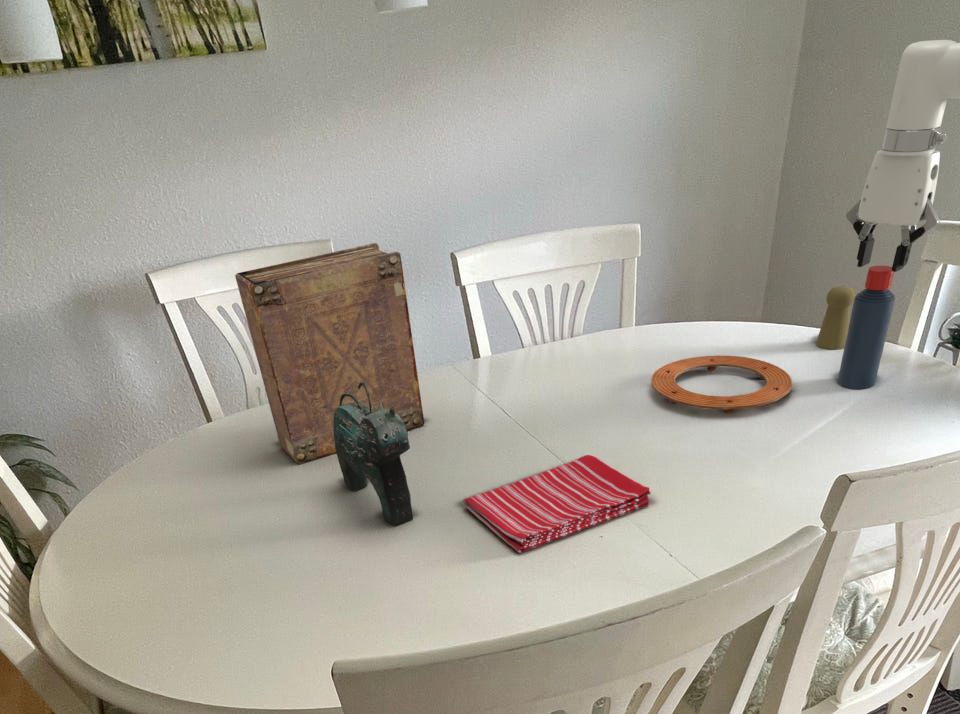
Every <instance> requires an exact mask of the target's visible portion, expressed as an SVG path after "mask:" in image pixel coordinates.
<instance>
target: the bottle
mask: <svg viewBox="0 0 960 714" xmlns="http://www.w3.org/2000/svg"><path fill="white" fill-rule="evenodd" d="M895 301H896V297H895V294H894V293H893V292H892V291H891V290H890V289H887V290H880V291H878V290H869V289H866V288H864V289H863V290H861V291H860V292H858V293H857V294H855V299H854V302H853V303H852V309H851V312H850V317H849V328H848V332H847V337H846V342H845V347H844V348H843V352H842V357H841V362H840V366H839V371H838V376H837V380H836V382H837V384H838V385H839V386H841V387H843V388H845V389H849V390H866V389H870V388H872V387H874V386H875V385H876V381H877V377H878V373H879V369H880V365H881V360H882V355H883V351H884V347H885V343H886V338H887V335H888V331H889V326H890V322H891V318H892V314H893V311H894V310H893V309H894V306H895Z"/></svg>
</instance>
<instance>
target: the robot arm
mask: <svg viewBox="0 0 960 714" xmlns="http://www.w3.org/2000/svg"><path fill="white" fill-rule="evenodd" d="M949 99H957V100H960V42H957V41H954V40H951V39H931V40H922V41H921V40H920V41H916V42H913V43H910V44H909V45H908V46H906V47H905V49H904V51H903V53H902V54H901V58H900V62H899V65H898V71H897V76H896V79H895V84H894V90H893V95H892V99H891V103H890V108H889V112H888V117H887V122H886V127H885V131H884V135H883V141H882V145H881V149H880V150H878V151H876V154H875V156H874V158H873V161H872V162H871V165H870V168H869V171H868V174H867V177H866V180H865V184H864V187H863V190H862V194H861V198H860V199H859V200H858V202H857V203H855V204H854V205H853V206H852V207H851V208H850V209H849V210H848V211H847V212H846V214H845V218H846V219H847V220H848V222H849V224H850V225H852V228H853V230H854V232H855V233H856V235H857V239H858V241H860V242H859V246H858V251H857V255H856V260H857V265H856V267H857V268H862V267H864V266H867V265H869V264H870V262H871V258H872V254H873V249H874V245H875V241H876V239H875V237H873V236H874V233H875V231H876V229H877V227H878V225H879V224H884V225H894V226H900V233H901V234H900V235H901V236H900V237H901V242H900V244H899V245H897V246H896V250H895V253H894V258H893V262H892V266H891V267H892V271H893V272H894V273H897V272H899V271H901V270H903V269H904V267H905V266H906V265H907V264H908V261H909V258H910V254H911V250H912V246H913V243H915V242H916V241H917V240H918V239H920V238H921V237H923V236H924V235H925V234H926V233H928V232H930V231H931V230H933V229H934V228H936V227H938V226H939V225H940V223H941V219H940V218H939V215H938V213H937V211H936V209H935V207H934V201H935V195H936V190H937V183H938V177H939V170H940V159H941V151H940V150H936V148H937V147H938V146H939V145H945V144H946V143H947V140H948V136H949V135H948V133H943V132H942V128H943V127H941V126H942V122H943V118H944V114H945V111H946V106H947V103H948V100H949ZM923 221H925V223H924V224H923V225H921V226H920V227H917V224H918V223H919V222H923Z"/></svg>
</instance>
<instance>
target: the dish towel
mask: <svg viewBox="0 0 960 714" xmlns="http://www.w3.org/2000/svg"><path fill="white" fill-rule="evenodd" d="M648 495H651V491H650V487H649V486H646V485H645V486H644V485H643V484H641V483H639V482H638V481H636V480H634V479H632V478H630V477H629V476H627V475H625V474H624V473H622V472H620V471H618V470H616V469H615V468H613V467H611V466H610V465H609V464H607V463H605V462H604V461H602V460H600V459H599V458H598V457H596V456H594V455H590V454H586V455H583V456H581V457H579V458H576V459H574V460H571V461H570V462H566V463H564V464H559V465H558V466H555V467H553V468H550V469H546V470H544V471H542V472H539V473H536V474H533V475H529V476H527V477H525V478H522V479H519V480H517V481H515V482H511V483H509V484H505V485H502V486H501V487H497V488H493V489H491V490H487V491H485V492H481V493H476V494H474V495H472V496H468V497H466V498H464V499H463V500H462V502H463V504H464V506H465V509H467V510H468V511H469V512H471V513H472V514H473V515H474V516H475V517H476V518H477V519H478V520H480V521H481V522H482V523H483V524H484V525H486V526H487V527H488V528H489V529H490V530H491V531H492V532H494V534H496V535H497V536H498V537H499V538H500V539H501V540H503V541H504V542H505V543H506V544H508V545H509V546H511V547H512V548H513V549H514V550H515V551H516V552H517V553H520V554H521V553H524V552H527V551H530V550H532V549H535V548H538V547H541V546H543V545H546V544H549V543H551V542H553V541H556V540H559V539H563V538H565V537H567V536H569V535H570V536H571V535H572V534H575V533H579V532H581V531H582V530H585V529H588V528H589V529H590V528H592V527H595V526H597V525H599V524H602V523H605V522H607V521H610V520H612V519H615V518H618V517H621V516H625V515H626V514H629V513H632V512H635V511H637V510H640V509H642V508H645V507H648V506H649V505H650V499H649V496H648Z"/></svg>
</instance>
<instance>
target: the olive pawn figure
mask: <svg viewBox="0 0 960 714" xmlns="http://www.w3.org/2000/svg"><path fill="white" fill-rule="evenodd" d="M855 296H856V292H855V289H854V288H852V287H850V286H844V285H843V286H841V285H840V286H835V287H832V288H831V289H830V290H829V291H828V292H827V294H826V299H825V300H826V304H827V308H826V311H825V314H824V317H823V320H822V323H821V326H820V330H819V332H818V335H817V338H816V342H815V346H816V347H818V348H820V349H823V350H843V349H844V347H845V342H846V337H847V332H848V328H849V323H850V317H851V306H853V304H854V299H855Z"/></svg>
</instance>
